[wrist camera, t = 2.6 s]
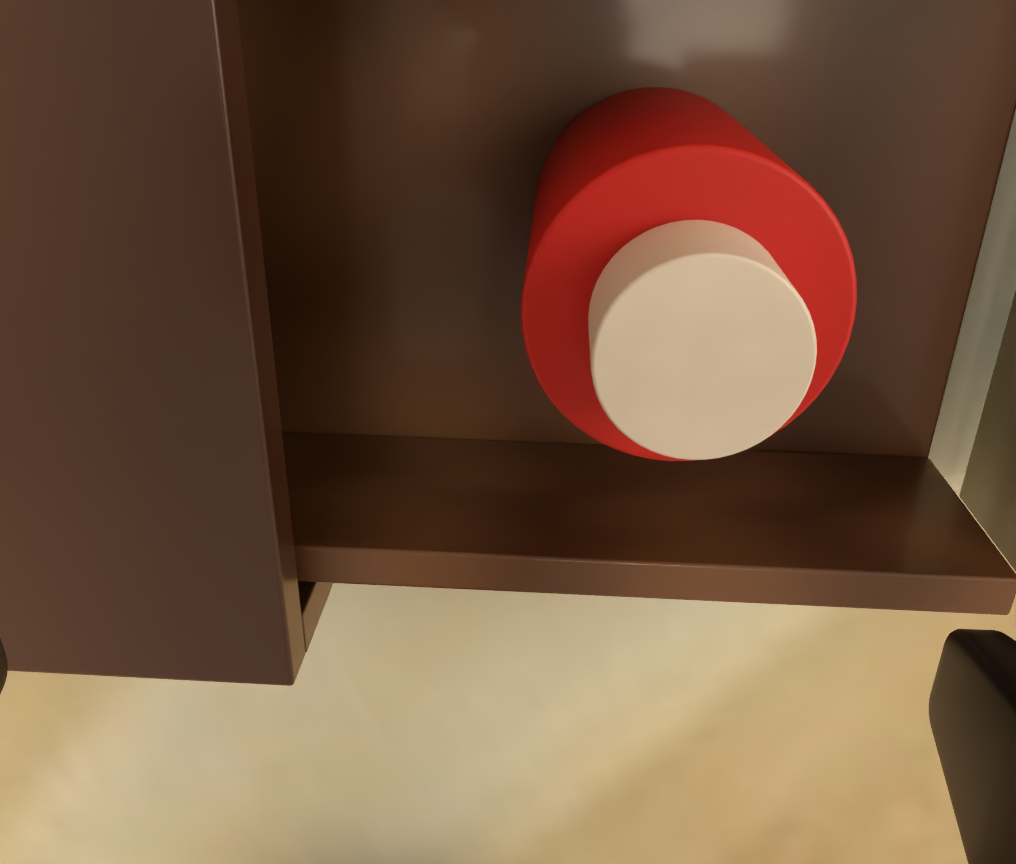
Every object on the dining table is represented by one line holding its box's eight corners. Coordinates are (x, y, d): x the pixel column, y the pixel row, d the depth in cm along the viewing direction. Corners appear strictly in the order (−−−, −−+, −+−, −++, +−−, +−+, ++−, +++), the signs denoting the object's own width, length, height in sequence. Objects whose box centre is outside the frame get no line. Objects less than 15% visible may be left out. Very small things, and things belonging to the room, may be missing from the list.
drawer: (1484, -198, 15) (1972, -290, 10) (1195, 506, 21) (1401, 681, 16) (135, -210, 16) (-73, -299, 11) (228, 465, 22) (124, 617, 17)
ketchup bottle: (779, 89, 17) (939, 176, 10) (747, 318, 19) (859, 531, 12) (538, 83, 17) (518, 163, 10) (532, 311, 19) (511, 516, 12)
